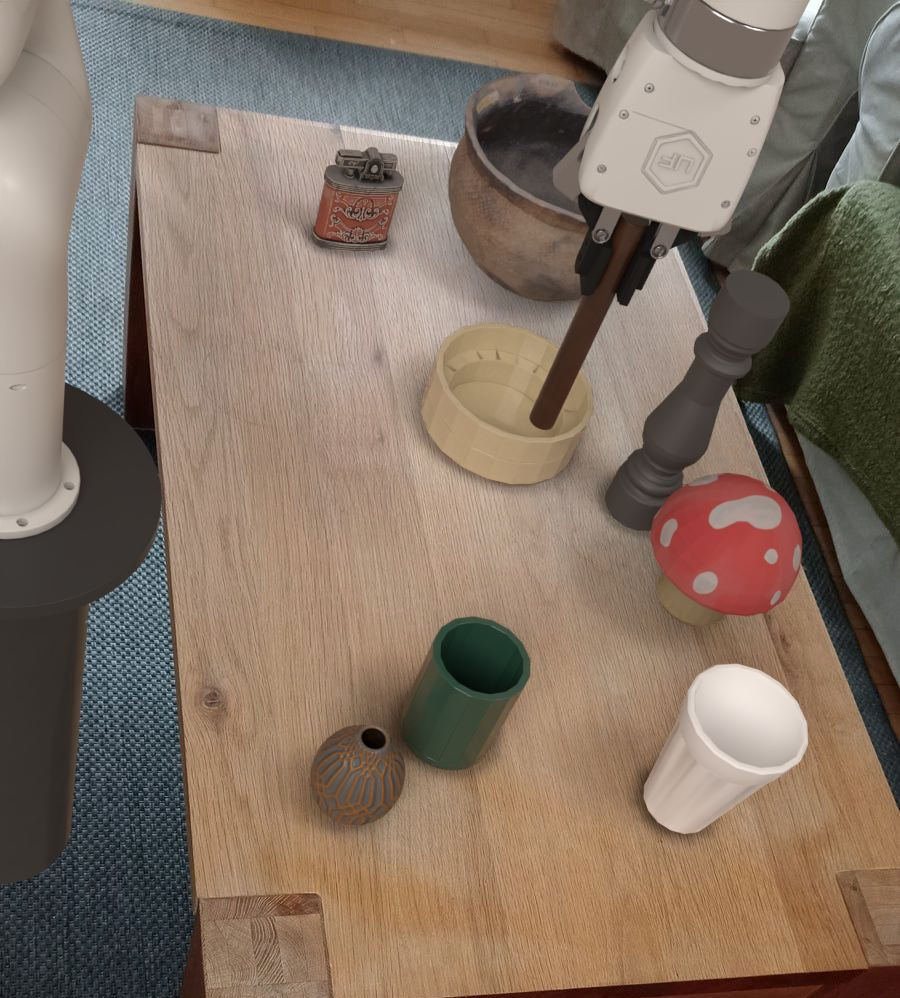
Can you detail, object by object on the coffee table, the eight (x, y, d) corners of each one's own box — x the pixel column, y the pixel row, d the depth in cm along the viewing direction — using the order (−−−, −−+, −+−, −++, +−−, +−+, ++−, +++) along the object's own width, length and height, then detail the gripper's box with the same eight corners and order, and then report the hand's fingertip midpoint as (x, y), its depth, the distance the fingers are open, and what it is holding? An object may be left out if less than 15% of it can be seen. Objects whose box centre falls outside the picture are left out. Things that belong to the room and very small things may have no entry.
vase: (284, 803, 98) (306, 740, 91) (335, 745, 102) (360, 680, 95) (359, 856, 97) (388, 797, 90) (408, 795, 101) (438, 734, 94)
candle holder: (677, 515, 126) (807, 306, 106) (637, 540, 123) (764, 330, 102) (632, 473, 127) (752, 258, 107) (592, 496, 124) (708, 280, 104)
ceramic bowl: (650, 275, 145) (710, 153, 133) (574, 375, 133) (633, 250, 120) (480, 174, 145) (524, 42, 133) (388, 263, 133) (427, 128, 121)
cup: (690, 879, 105) (768, 798, 94) (597, 796, 106) (663, 707, 96) (752, 809, 110) (832, 725, 100) (662, 731, 112) (732, 640, 101)
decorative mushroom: (641, 675, 114) (718, 565, 102) (594, 556, 120) (661, 438, 108) (769, 667, 119) (857, 561, 107) (718, 553, 125) (796, 439, 113)
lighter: (381, 231, 135) (405, 143, 127) (390, 253, 134) (415, 166, 126) (306, 227, 132) (326, 137, 124) (315, 250, 131) (335, 160, 123)
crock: (397, 761, 103) (431, 689, 94) (402, 683, 107) (435, 607, 98) (489, 777, 104) (530, 708, 96) (490, 700, 108) (530, 627, 100)
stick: (529, 427, 99) (621, 222, 84) (528, 408, 100) (620, 203, 85) (554, 432, 99) (650, 230, 84) (553, 414, 100) (648, 211, 86)
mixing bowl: (416, 467, 120) (434, 419, 115) (422, 355, 128) (439, 306, 123) (572, 503, 123) (596, 458, 118) (569, 392, 131) (591, 346, 126)
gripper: (597, 17, 70) (492, 295, 86) (858, 99, 74) (713, 351, 89) (590, -55, 74) (491, 223, 89) (839, 27, 78) (703, 280, 93)
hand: (603, 286), depth 89 cm, fingers closed on stick, 2 cm apart
